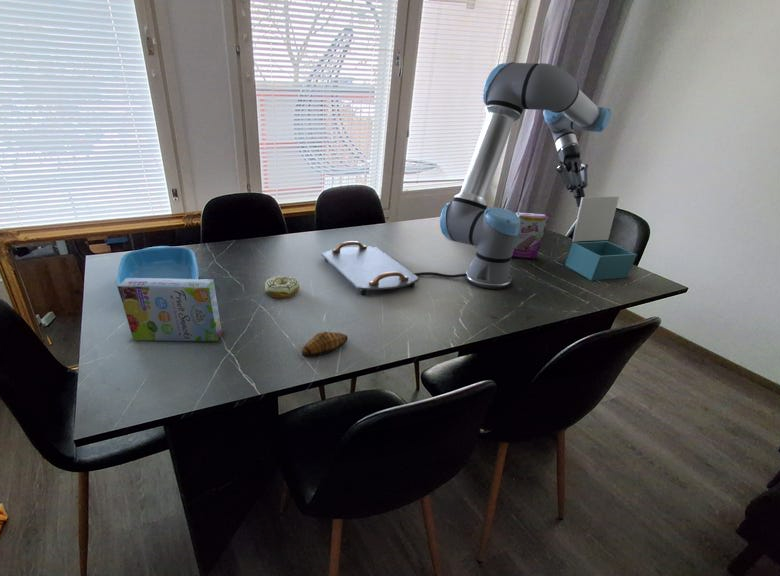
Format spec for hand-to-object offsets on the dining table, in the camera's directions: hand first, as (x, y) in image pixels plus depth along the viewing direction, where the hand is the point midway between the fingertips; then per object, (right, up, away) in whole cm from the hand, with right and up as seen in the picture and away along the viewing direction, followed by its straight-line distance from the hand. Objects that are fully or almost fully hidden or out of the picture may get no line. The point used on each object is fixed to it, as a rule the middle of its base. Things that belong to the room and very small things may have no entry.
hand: (581, 205), depth 159 cm
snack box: (-133, -53, -52) cm, 152 cm away
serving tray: (-83, -29, -12) cm, 89 cm away
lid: (+2, -7, -6) cm, 10 cm away
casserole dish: (-148, -37, -29) cm, 155 cm away
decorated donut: (-110, -38, -28) cm, 120 cm away
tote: (+3, -26, -3) cm, 26 cm away
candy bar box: (-21, -18, +8) cm, 28 cm away
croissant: (-95, -57, -54) cm, 123 cm away
